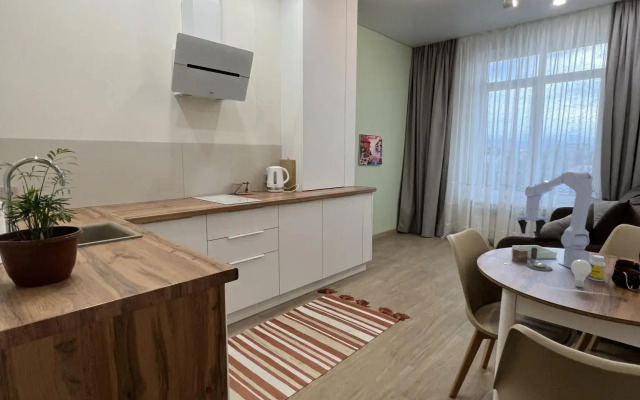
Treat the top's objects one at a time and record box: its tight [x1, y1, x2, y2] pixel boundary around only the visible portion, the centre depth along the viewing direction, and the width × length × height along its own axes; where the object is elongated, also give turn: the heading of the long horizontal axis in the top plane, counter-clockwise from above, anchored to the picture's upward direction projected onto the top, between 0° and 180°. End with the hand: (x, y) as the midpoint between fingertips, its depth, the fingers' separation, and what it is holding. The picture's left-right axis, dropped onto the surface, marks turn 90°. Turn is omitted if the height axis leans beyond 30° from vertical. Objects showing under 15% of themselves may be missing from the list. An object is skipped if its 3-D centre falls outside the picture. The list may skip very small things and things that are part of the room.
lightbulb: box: [570, 259, 592, 288], centre depth 132 cm, size 6×6×11 cm
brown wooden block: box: [511, 248, 528, 264], centre depth 166 cm, size 4×4×6 cm
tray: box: [511, 244, 558, 260], centre depth 178 cm, size 14×14×4 cm
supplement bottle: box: [587, 254, 607, 282], centre depth 142 cm, size 5×5×10 cm
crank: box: [530, 247, 547, 268], centre depth 161 cm, size 14×5×7 cm, turn 161°
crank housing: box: [503, 262, 553, 272], centre depth 158 cm, size 20×10×1 cm, turn 71°
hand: (530, 233), depth 184 cm, fingers open, 7 cm apart
